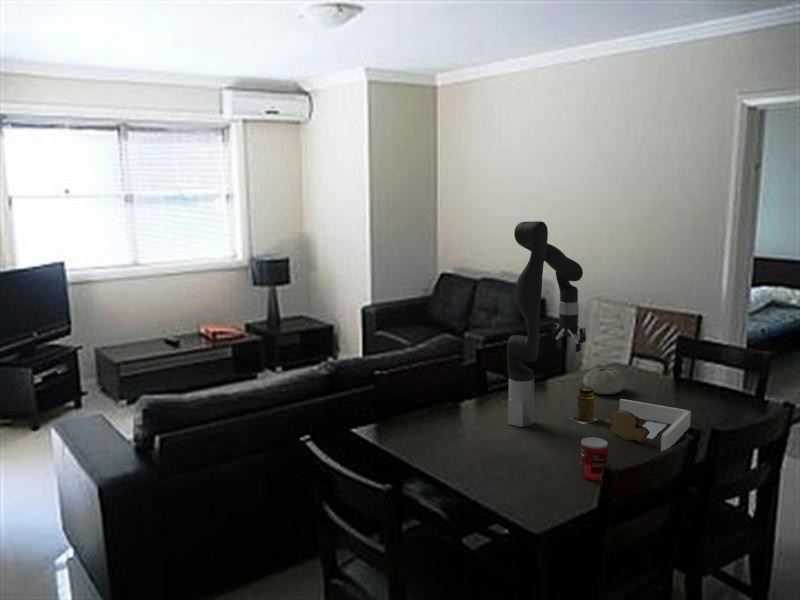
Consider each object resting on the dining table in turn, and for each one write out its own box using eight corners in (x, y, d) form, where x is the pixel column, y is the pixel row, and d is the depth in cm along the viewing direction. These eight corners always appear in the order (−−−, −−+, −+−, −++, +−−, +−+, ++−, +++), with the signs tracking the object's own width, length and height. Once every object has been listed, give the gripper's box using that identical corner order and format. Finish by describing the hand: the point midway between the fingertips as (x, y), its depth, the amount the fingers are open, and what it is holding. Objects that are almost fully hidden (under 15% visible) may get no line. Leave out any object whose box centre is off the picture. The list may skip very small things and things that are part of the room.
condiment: (598, 420, 260) (599, 389, 258) (583, 424, 255) (583, 393, 253) (583, 414, 266) (584, 384, 264) (568, 419, 261) (568, 388, 259)
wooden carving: (652, 443, 236) (653, 415, 234) (644, 446, 233) (646, 418, 231) (610, 430, 248) (611, 404, 247) (603, 433, 245) (603, 407, 244)
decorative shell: (575, 388, 300) (575, 365, 298) (610, 383, 305) (611, 361, 303) (598, 400, 283) (599, 376, 281) (635, 395, 288) (636, 372, 286)
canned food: (586, 468, 217) (587, 435, 215) (611, 474, 212) (612, 440, 210) (575, 476, 211) (576, 442, 209) (600, 483, 206) (601, 448, 204)
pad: (652, 439, 239) (652, 438, 239) (632, 435, 243) (632, 434, 243) (667, 425, 253) (667, 424, 253) (647, 421, 257) (647, 420, 257)
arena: (665, 453, 227) (666, 435, 226) (590, 437, 242) (591, 421, 241) (690, 426, 251) (690, 410, 250) (620, 413, 266) (621, 398, 265)
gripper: (548, 311, 280) (548, 349, 284) (579, 316, 271) (579, 355, 274) (558, 307, 285) (558, 344, 289) (589, 312, 276) (588, 350, 280)
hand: (568, 349), depth 282 cm, fingers open, 8 cm apart
